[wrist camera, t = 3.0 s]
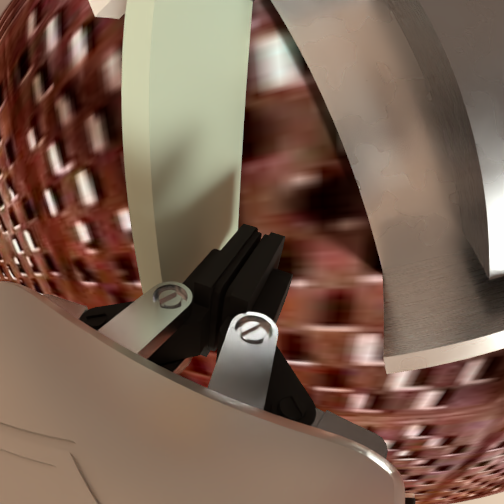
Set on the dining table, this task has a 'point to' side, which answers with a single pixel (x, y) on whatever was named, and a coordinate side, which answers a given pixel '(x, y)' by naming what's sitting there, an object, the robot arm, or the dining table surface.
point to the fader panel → (108, 8)
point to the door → (183, 129)
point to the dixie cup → (409, 498)
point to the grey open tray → (421, 158)
